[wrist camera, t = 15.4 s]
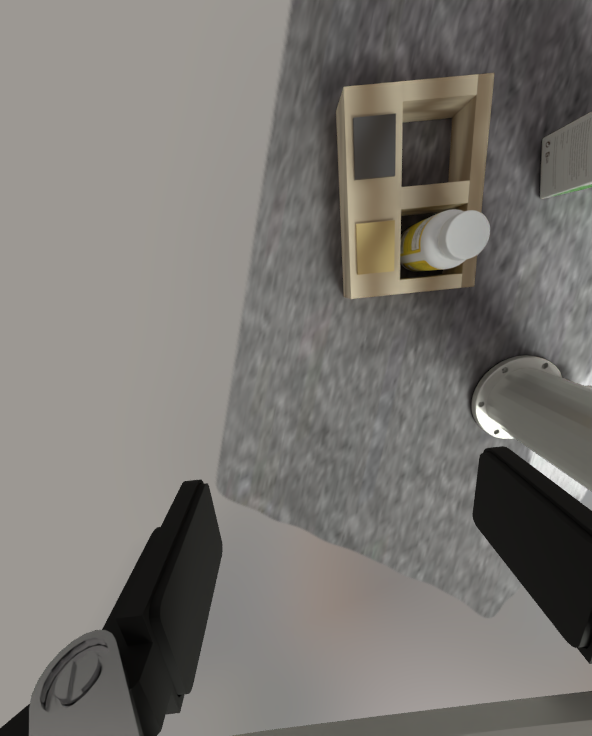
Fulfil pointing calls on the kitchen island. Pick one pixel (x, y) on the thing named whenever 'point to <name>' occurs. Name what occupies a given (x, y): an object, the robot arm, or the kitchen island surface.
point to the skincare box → (567, 159)
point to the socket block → (384, 175)
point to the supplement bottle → (444, 240)
